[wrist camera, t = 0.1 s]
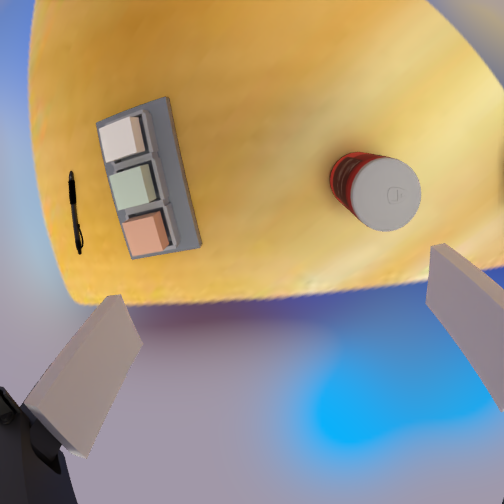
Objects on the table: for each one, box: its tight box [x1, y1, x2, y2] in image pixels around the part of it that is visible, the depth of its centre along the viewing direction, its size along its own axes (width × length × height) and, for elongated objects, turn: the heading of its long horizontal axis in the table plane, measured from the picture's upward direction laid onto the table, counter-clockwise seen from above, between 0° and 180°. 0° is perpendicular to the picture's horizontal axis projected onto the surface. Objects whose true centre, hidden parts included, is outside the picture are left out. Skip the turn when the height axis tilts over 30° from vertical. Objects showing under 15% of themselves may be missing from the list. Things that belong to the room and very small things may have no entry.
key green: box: [109, 164, 156, 211], centre depth 32 cm, size 4×4×2 cm
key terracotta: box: [122, 211, 169, 256], centre depth 35 cm, size 4×4×2 cm
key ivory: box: [99, 116, 145, 163], centre depth 30 cm, size 4×4×2 cm
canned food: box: [330, 152, 421, 231], centre depth 31 cm, size 8×8×11 cm
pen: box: [68, 171, 83, 255], centre depth 39 cm, size 14×2×1 cm, turn 177°
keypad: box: [96, 97, 202, 260], centre depth 35 cm, size 21×11×4 cm, turn 11°
